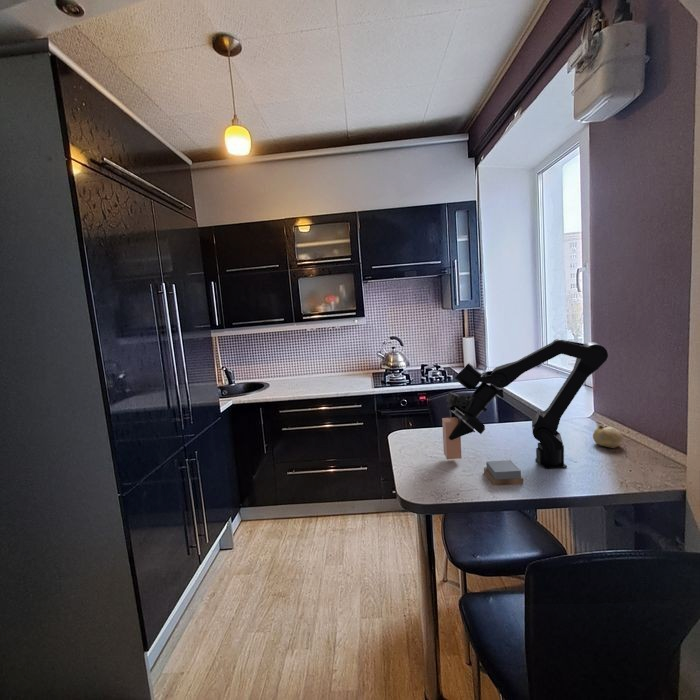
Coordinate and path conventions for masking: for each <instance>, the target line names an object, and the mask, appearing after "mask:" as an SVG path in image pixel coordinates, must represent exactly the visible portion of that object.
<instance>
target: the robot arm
mask: <svg viewBox="0 0 700 700" xmlns="http://www.w3.org/2000/svg"><path fill="white" fill-rule="evenodd" d="M560 355H565V356H569V357H572V358H575V362H574V366H573V369H572V370H571V372H570V374H569V375H568V376H567V378H566V380H565V381H564V383H563V384H562V386H561V387H560V389H559V390H558V392H557V393H556V395H555V396H554V398H553V400H552V401H551V403H550V404H549V406H548V407H547V408H546V409H544V411H542V410H540V409H538V410H537V411H536V415H535V416H534V417H533V418H532V419H531V430H532V431H531V432H532V436H533V438H534V439H535V440H537V441H538V442H537V447H536V448H535V451H536V452H535V455H536V458H535V459H534V460H535V461H536V462H537V463H538V464H539V465H540V466H541V467H543V469H545V470H546V469H561V468H562V469H564V468H568V465H567V464H566V463H565V445H564V443H563V439H562V436H561V433H560V432H559V431H558V428H559V425H560V422H561V418H562V416H563V415H564V414H565V412H566V410H567V409H568V407H569V406H570V404H571V403H572V401H573V400H574V398H575V397H576V395H577V394H578V392H579V391H580V389H581V388H582V387H583V385H584V384H585V382H586V381H587V379H588V378H589V377H590V376H591V375H593V374H594V373H595V372H596V371H598V370H599V369H600V368H601V366H602V365H604V363H606V361H607V359H608V357H609V354H608V350H607V349H606V348H605V347H604V346H603V345H601V344H599V343H597V342H594V341H589V342H585V343H582V342H577V341H570V340H566V339H562V338H557V339H553V341H552V342H549V344H546V345H544V346H542V347H541V348H539V349H537V350H535V351H533V352H531V353H529V354H527V355H525V356H523V357H522V358H520V359H518V360H516V361H512V362H509V363H505V364H501V365H499V366H496V367H495V368H494V369H492V370H490V371H484V372H482V373H481V372H480V371H479V370H477V368H475V367H474V366H473V364H472V363H470V362H468V363H467V364H466V365H465V366H464V367H463V368H462V369H460V371H459V372H458V373H457V374H456V376H455V377H454V378H453V379H454V380H456V381H457V382H458V383H459V384H460V385H462V386H463V387H464V388H465V389H467V390H474V389H475V390H474V391H473V392H472V393H471V394H470V395H469V394H467V395H463V394H461V393H459V394H456V393H454V392H451V391H449V392H448V393H447V397H446V399H445V402H447V403H448V404H447V405H446V407H447V408H448V412H449V418H452V417H456V418H457V419H458V425H457V426H456V427H455V429H454V430H453V432H452V433H451V435H450V436H449V439H450V440H453V439H456V438H458V437H463V436H465V435H469V434H472V433H475V432H477V433H478V434H480V435H482V434H483V432H484V431H485V430H486V425H485V424H484V423H483V422H481V420H480V419H479V418H478V417H479V416H480V415H481V413H482V412H487V410H488V409H487V406H489V404H490V403H491V402H492V401H493V400H494V398H496V396H497V397H498V398H499V399H504V398H505V395H504V388H506V387H508V386H509V385H510V384H512V383H513V382H515V381H516V380H517V379H518V378H519V377H520V376H521V375H523V374H524V373H526V372H528V371H530V370H532V369H533V368H536V367H538V366H539V365H542V364H543V363H545V362H548V361H550V360H551V359H554V358H555V357H558V356H560Z"/></svg>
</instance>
